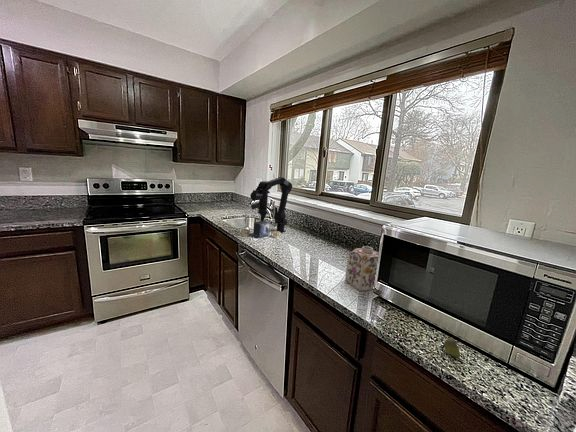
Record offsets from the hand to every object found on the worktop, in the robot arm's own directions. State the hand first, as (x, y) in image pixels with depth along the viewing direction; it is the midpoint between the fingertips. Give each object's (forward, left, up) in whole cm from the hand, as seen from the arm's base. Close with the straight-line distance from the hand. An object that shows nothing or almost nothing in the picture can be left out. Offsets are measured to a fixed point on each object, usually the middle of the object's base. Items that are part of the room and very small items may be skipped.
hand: (262, 221), depth 175 cm
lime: (+57, +114, -11) cm, 128 cm away
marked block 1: (+7, -9, -11) cm, 16 cm away
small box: (0, 0, -11) cm, 11 cm away
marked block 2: (-7, +9, -11) cm, 16 cm away
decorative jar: (+28, +80, -11) cm, 86 cm away
